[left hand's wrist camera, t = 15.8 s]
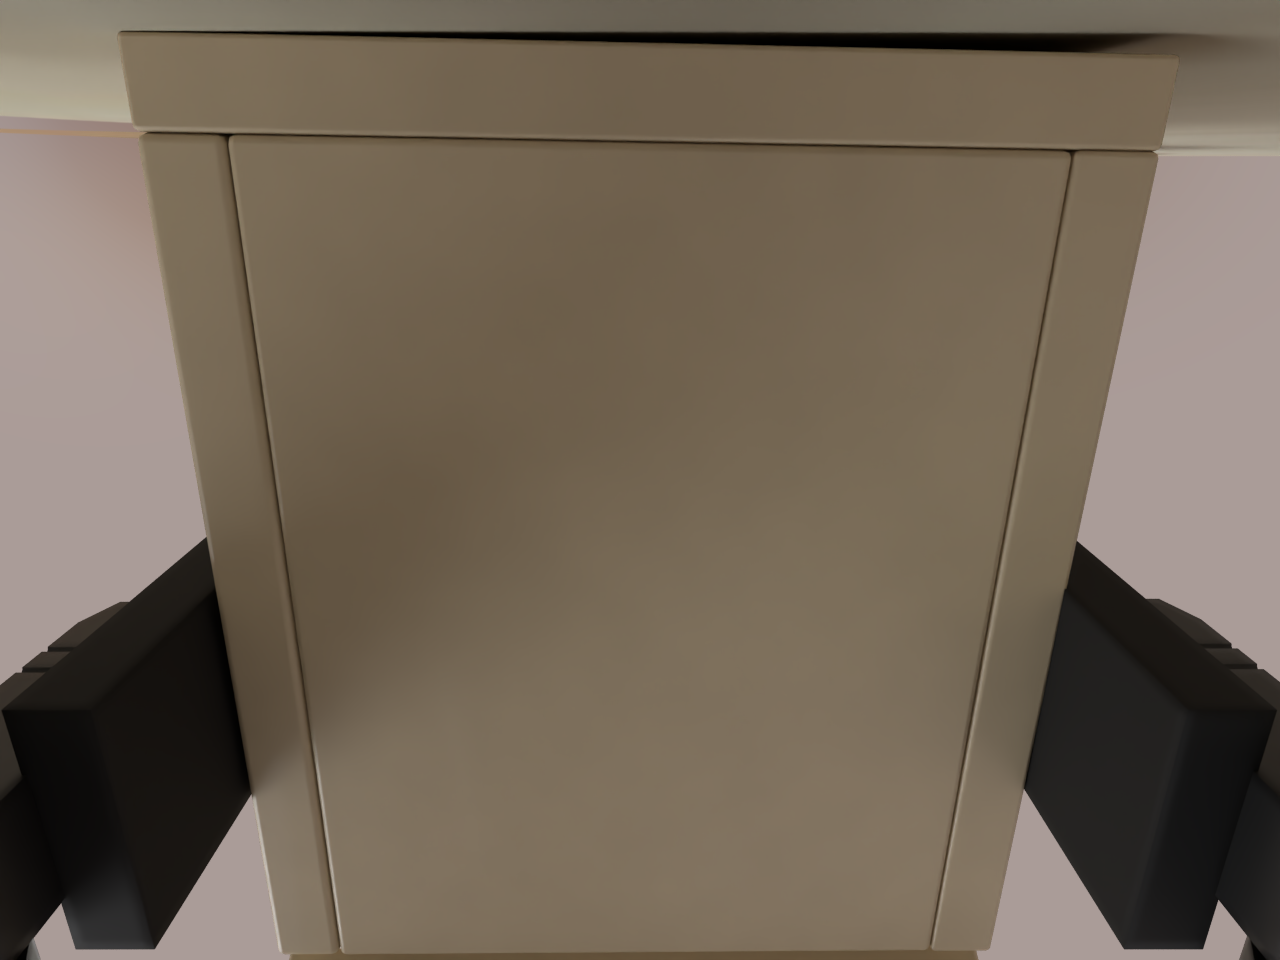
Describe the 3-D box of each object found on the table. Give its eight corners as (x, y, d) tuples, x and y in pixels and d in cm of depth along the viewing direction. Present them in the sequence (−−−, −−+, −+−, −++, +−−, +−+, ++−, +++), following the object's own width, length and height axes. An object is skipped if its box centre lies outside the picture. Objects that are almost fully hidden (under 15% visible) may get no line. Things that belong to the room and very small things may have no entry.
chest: (832, 129, 19) (796, 545, 23) (432, 121, 19) (458, 542, 23) (1184, 53, 7) (991, 953, 11) (113, 29, 7) (276, 957, 11)
